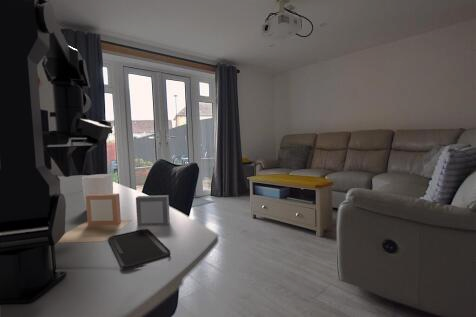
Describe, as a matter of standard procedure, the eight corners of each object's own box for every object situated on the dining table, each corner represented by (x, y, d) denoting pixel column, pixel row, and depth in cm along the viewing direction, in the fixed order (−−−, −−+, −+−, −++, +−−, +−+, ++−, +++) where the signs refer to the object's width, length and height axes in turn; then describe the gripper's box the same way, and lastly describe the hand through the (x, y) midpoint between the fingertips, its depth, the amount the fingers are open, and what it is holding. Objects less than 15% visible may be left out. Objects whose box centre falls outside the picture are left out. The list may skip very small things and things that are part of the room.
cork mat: (103, 243, 48) (103, 241, 48) (47, 244, 48) (47, 242, 48) (132, 221, 61) (132, 219, 61) (87, 222, 61) (87, 220, 61)
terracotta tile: (117, 224, 58) (115, 195, 57) (87, 225, 58) (85, 195, 57) (121, 222, 59) (119, 193, 59) (91, 223, 59) (89, 194, 59)
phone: (147, 228, 54) (172, 253, 42) (147, 233, 54) (172, 259, 42) (106, 237, 49) (121, 268, 37) (107, 242, 49) (122, 275, 37)
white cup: (120, 206, 76) (118, 173, 75) (103, 213, 68) (101, 177, 67) (96, 206, 77) (94, 174, 76) (77, 213, 69) (74, 178, 68)
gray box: (167, 226, 57) (166, 196, 56) (137, 227, 57) (135, 197, 56) (169, 224, 58) (168, 195, 58) (140, 225, 58) (138, 196, 58)
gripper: (77, 101, 48) (83, 181, 49) (122, 112, 67) (126, 169, 68) (20, 103, 48) (28, 182, 49) (81, 113, 67) (85, 170, 68)
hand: (74, 175), depth 59 cm, fingers open, 4 cm apart
